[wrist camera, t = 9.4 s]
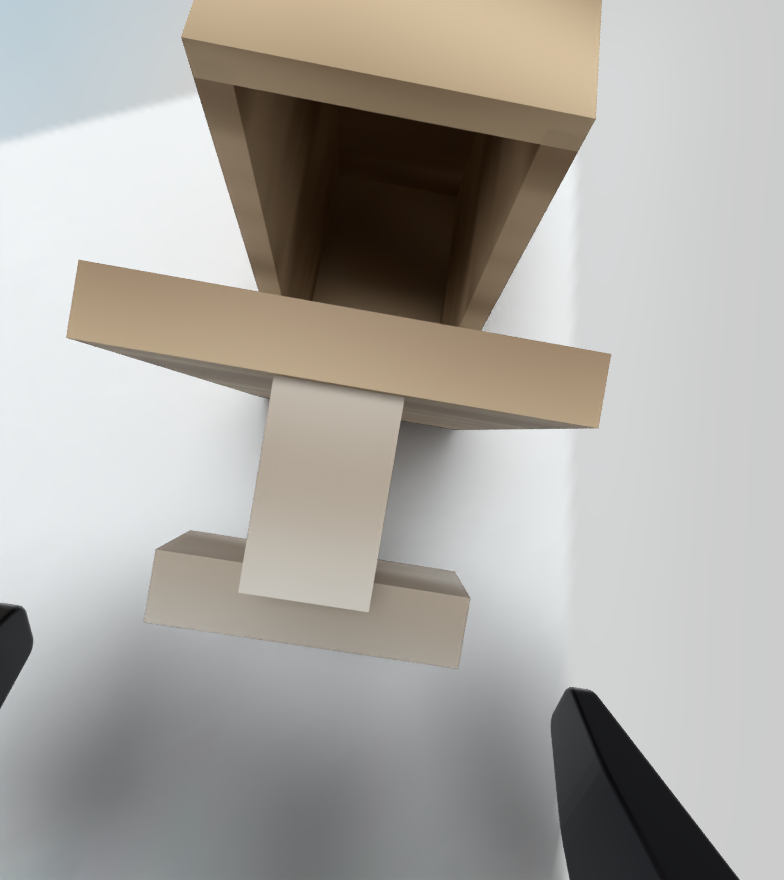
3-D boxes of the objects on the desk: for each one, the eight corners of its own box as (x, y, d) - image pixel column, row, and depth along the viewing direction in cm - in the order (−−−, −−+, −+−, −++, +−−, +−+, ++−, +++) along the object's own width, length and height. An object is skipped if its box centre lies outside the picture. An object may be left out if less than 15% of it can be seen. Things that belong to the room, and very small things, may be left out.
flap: (436, 546, 18) (544, 737, 7) (240, 515, 18) (14, 661, 7) (461, 401, 18) (611, 354, 7) (264, 368, 18) (78, 259, 7)
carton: (444, 398, 19) (595, 118, 7) (282, 370, 19) (180, 37, 7) (470, 197, 21) (614, -247, 10) (327, 170, 21) (304, -319, 10)
